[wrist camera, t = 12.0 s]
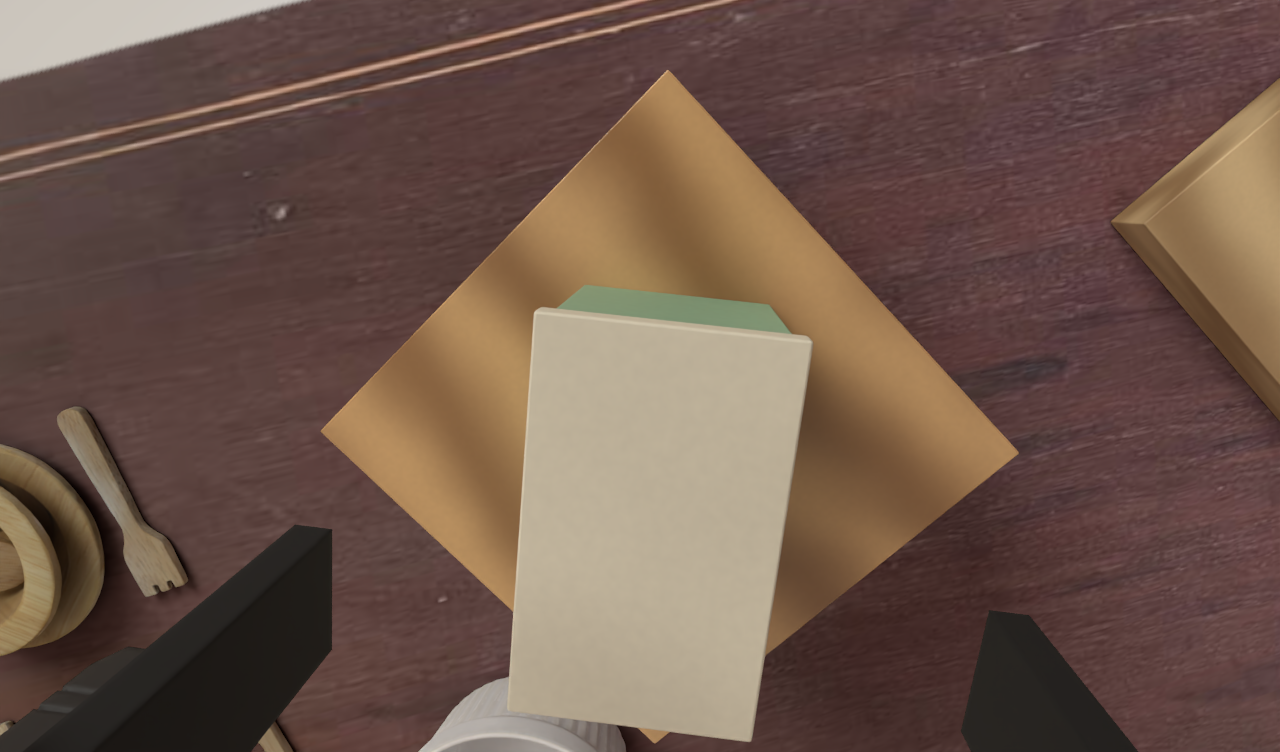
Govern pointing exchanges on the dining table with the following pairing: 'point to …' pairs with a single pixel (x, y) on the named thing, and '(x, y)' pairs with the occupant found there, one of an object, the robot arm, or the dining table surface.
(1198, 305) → the wooden square board
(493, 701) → the ramekin
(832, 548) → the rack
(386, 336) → the dining table surface
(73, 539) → the tableware set
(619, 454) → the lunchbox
